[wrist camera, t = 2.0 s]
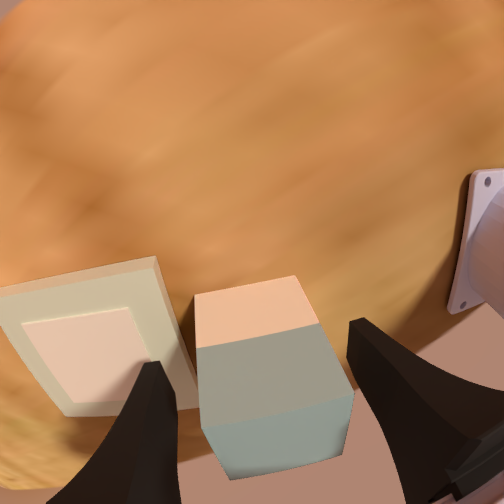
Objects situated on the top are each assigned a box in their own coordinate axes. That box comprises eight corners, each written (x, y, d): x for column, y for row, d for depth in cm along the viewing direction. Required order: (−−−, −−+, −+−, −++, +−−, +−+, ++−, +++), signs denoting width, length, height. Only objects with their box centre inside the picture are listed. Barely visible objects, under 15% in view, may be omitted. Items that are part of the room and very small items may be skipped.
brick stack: (294, 274, 13) (354, 393, 7) (299, 346, 15) (341, 454, 9) (194, 294, 12) (201, 427, 7) (214, 363, 14) (229, 480, 9)
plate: (155, 255, 11) (152, 269, 10) (203, 393, 15) (204, 408, 14) (-6, 288, 11) (-15, 301, 10) (69, 404, 14) (65, 418, 14)
